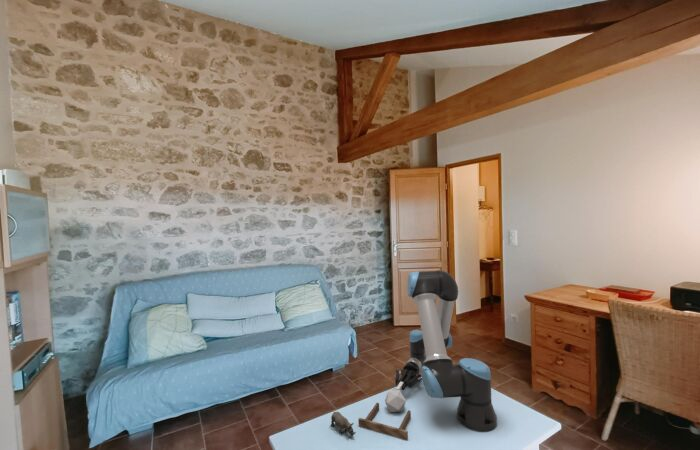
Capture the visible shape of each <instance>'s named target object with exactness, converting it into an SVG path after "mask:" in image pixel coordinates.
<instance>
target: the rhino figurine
mask: <svg viewBox="0 0 700 450" xmlns="http://www.w3.org/2000/svg"><path fill="white" fill-rule="evenodd" d="M330 417H331V418H330V419H331V420H330V422H331V424H330V427H335V426H336V427H339V432H338V434H340V435H342V434H343V433H344V432H345V433H348V434H349V435H350V436H351V437H354V435H356V431H354V428H353V425H354V422H352V423H351V422H350V421H349V420H348V419H347V417H345V416H343V415H342V414H341V412H339V411H334V412H333V413H332V414H331V416H330ZM343 430H344V431H343Z"/></svg>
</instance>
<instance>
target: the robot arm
mask: <svg viewBox="0 0 700 450" xmlns="http://www.w3.org/2000/svg"><path fill="white" fill-rule="evenodd" d="M406 289H407V296H408V297H410V298H412V301H413V303H415V304H416V307H417V312H418V318H419V324H420V329H421V330H420V329H413V330H411V331H410V333H409V348H410V350H409V352H410V354H409V355H410V358H409V359H408V360H407V361H406V363H405V365H404V366H403V369H401V370H398V369H396V370H395V377H394V378H395V380H394V382H395V383H394V384H395V386H396V387H395V390H400V391H401V393H403V391H405V390H406V388H409V389H411V388H412V387H413V386H415V385H416V384H417V383H418V382H420V381H422V385H423V387H424V390H425V392H426V393H427V396H429V397H430V398H432V399H446V398H460V399H459V402H458V405H457V408H456V419H457V421H458V422H459V423H460V424H461V425H462V426H463V427H465V428H466V429H469V430H472V431H476V432H490V431H492V430H495V428H497V425H498V418H497V414H496V410H495V409H494V405H493V403H492V375H491V369H490V367H489V366H488V365H487V364H486V363H484V362H483V361H481V360H478V359H474V358H469V357H465V358H460V360H459V362H458V364H453V359H452V358H451V357H449V356H448V354H447V349H449V348H452V347H453V338H452V335H451V333H450V330H451V329H450V328H451V324H452V323H451V322H452V318H453V317H452V316H453V313H454V307H455V301H457V299H458V298H459V297H458V296H459V287H458V283H457V282H456V280H455V278H454V277H453V275H451V274H450V273H449V272H447V271H444V270H439V269H438V270H428V271H426V270H423V271H420V270H418V271H412V272H410V273H409V274H408V278H407V288H406ZM437 300H438V303H437Z"/></svg>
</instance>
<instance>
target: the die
mask: <svg viewBox="0 0 700 450" xmlns="http://www.w3.org/2000/svg"><path fill="white" fill-rule="evenodd" d="M402 393H403V392H401V391H400V390H396V389H395V390H388V391H387V394H386V395H385V399H384V403H385V404H386V406H387V408H388V410H389V412H390V413H398V412H403V410H404V408H405V405H406V402H407V400H406V398H405V397H404V394H402Z"/></svg>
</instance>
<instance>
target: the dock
mask: <svg viewBox="0 0 700 450" xmlns="http://www.w3.org/2000/svg"><path fill="white" fill-rule="evenodd" d="M379 412H380V403H379V402H376V403H375V405H374V406H373V408H372V409H371V410H370V411H369V413H368V415H367V416H366V417H365V418H362V417H358V427H359V428H363V429H366V430H370V431H373V432H376V433H381V434H383V435H387V436H391V437H394V438H398V439H400V440H403V441H404V440H405V441H408V440H409V432H408V430H406V429H407V427H408V425H409V422H410V420H411V419H412V416H411V415H412V414H411V410H409V409H408V410H407V412H406V413H405V416H404V417H403V419H402V421H401V424H400V425H399V426H398V427H396V426H395V427H394V426H392V425H391V426H390V425H387V424H384V423H379V422H377V421H374V419H375V417H376V416H377V414H378V413H379Z"/></svg>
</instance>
